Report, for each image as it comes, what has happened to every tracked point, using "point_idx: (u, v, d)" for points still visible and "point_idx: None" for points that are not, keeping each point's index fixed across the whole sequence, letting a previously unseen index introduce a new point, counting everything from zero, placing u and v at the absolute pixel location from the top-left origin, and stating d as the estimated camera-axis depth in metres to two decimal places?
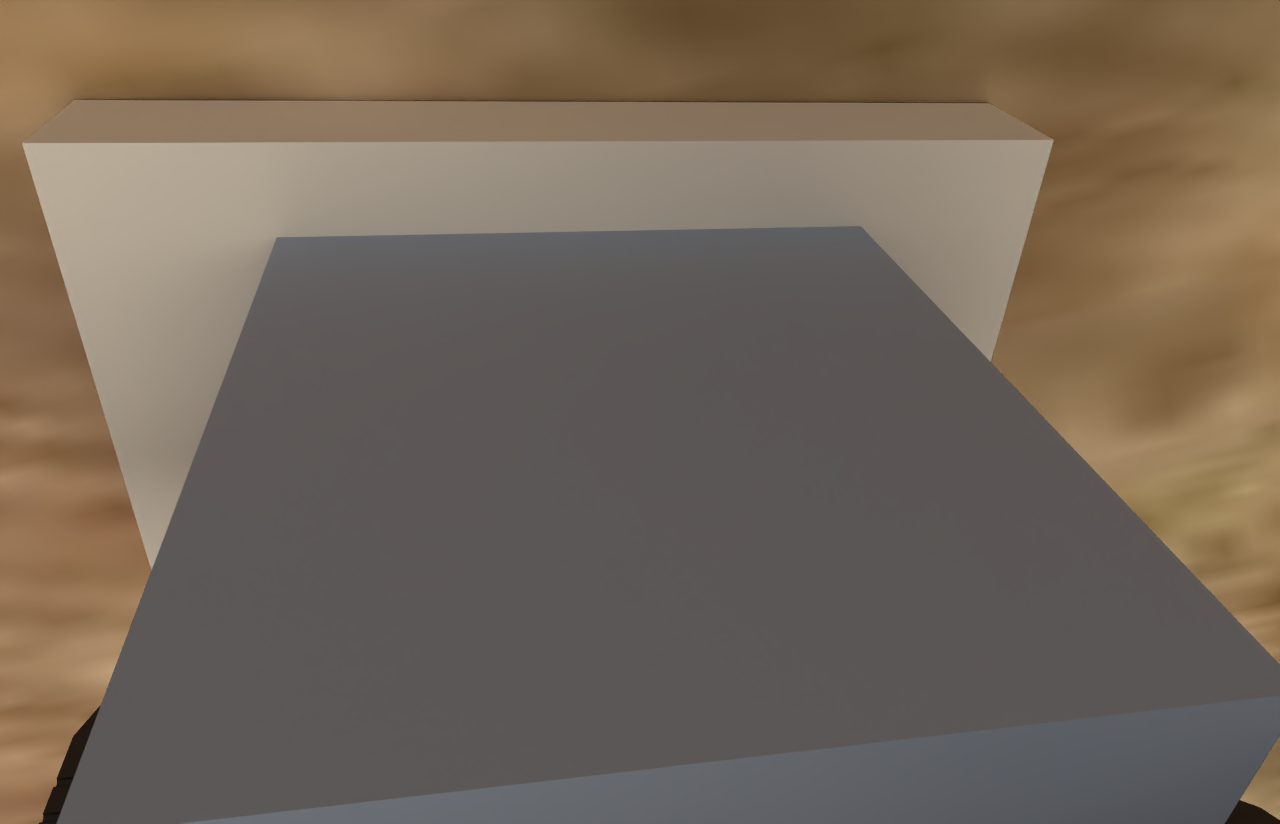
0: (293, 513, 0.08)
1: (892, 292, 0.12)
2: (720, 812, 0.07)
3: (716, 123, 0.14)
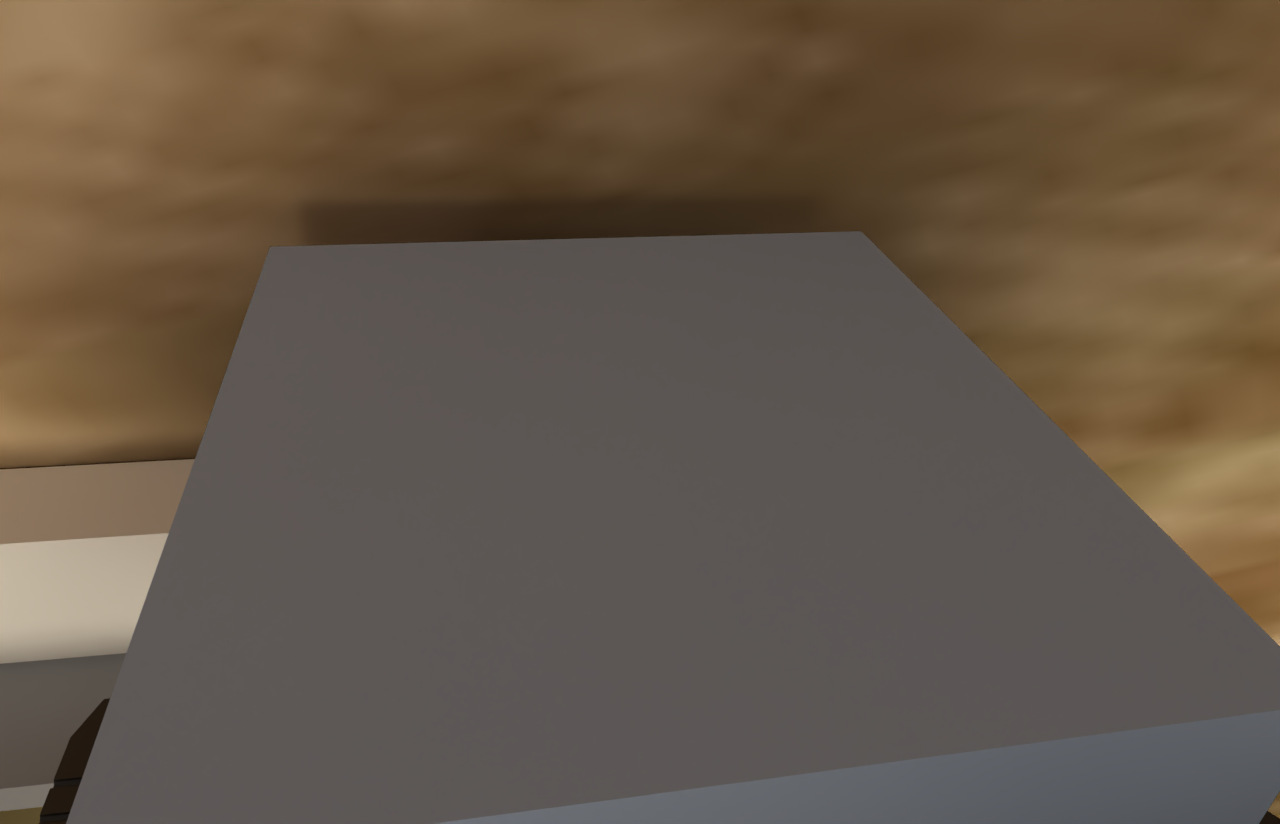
0: (294, 529, 0.08)
1: (896, 297, 0.12)
2: None
3: (87, 505, 0.15)
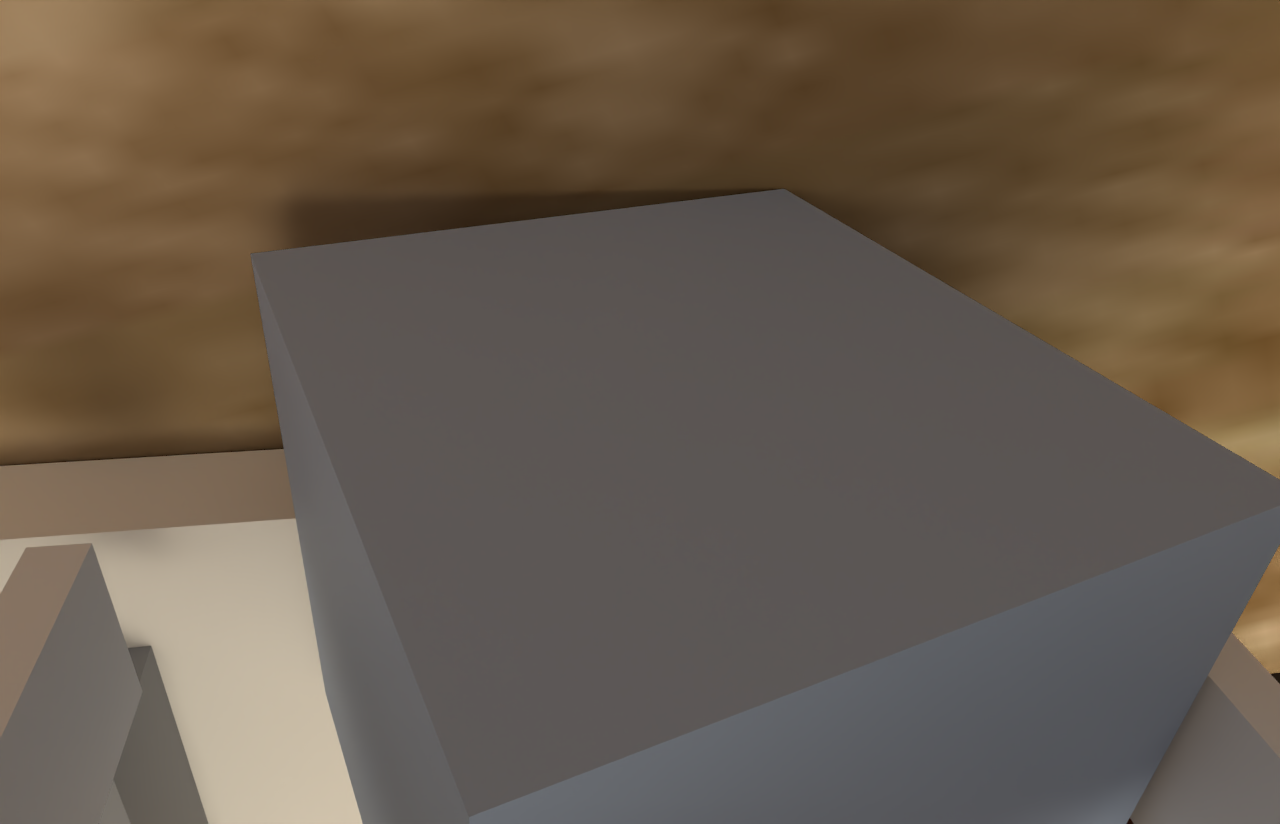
0: (471, 504, 0.08)
1: (847, 242, 0.14)
2: (952, 675, 0.08)
3: (65, 502, 0.15)
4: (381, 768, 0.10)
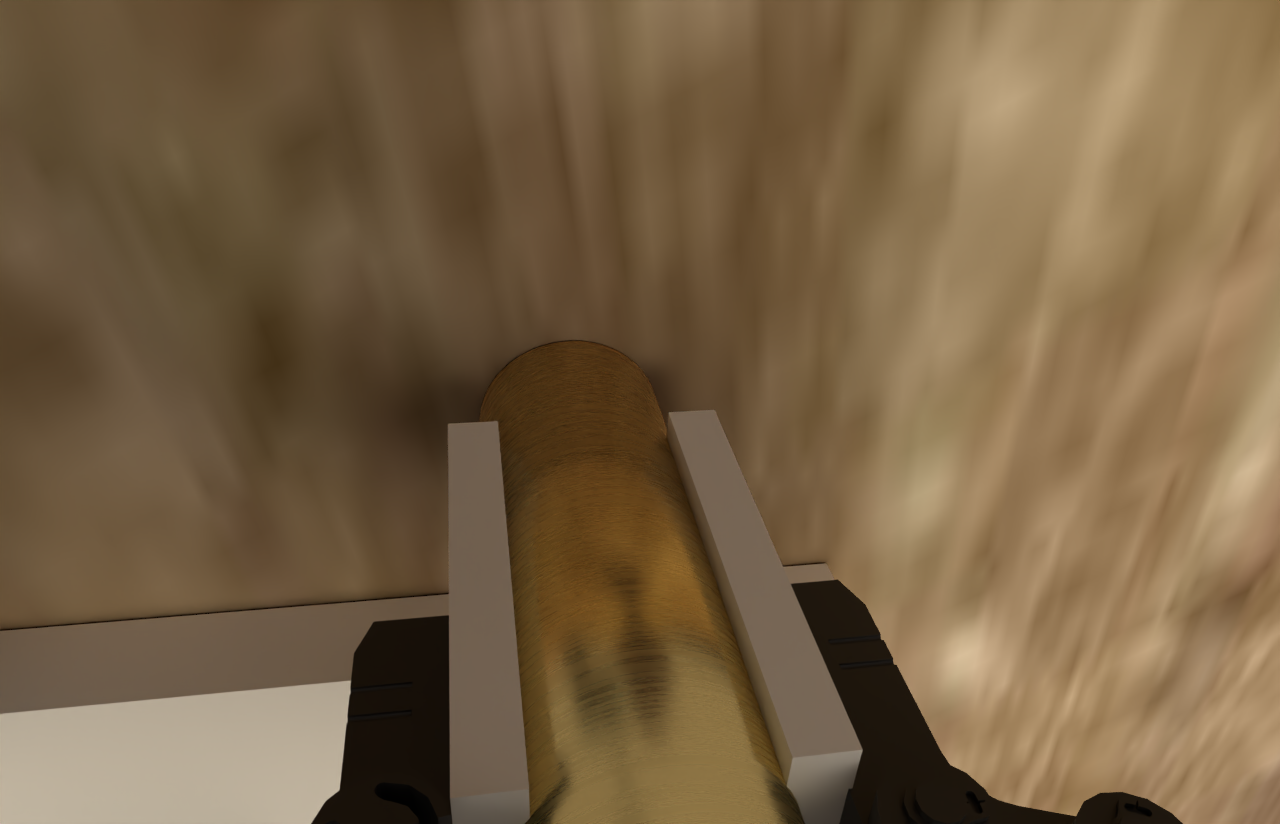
0: None
1: None
2: None
3: None
4: None
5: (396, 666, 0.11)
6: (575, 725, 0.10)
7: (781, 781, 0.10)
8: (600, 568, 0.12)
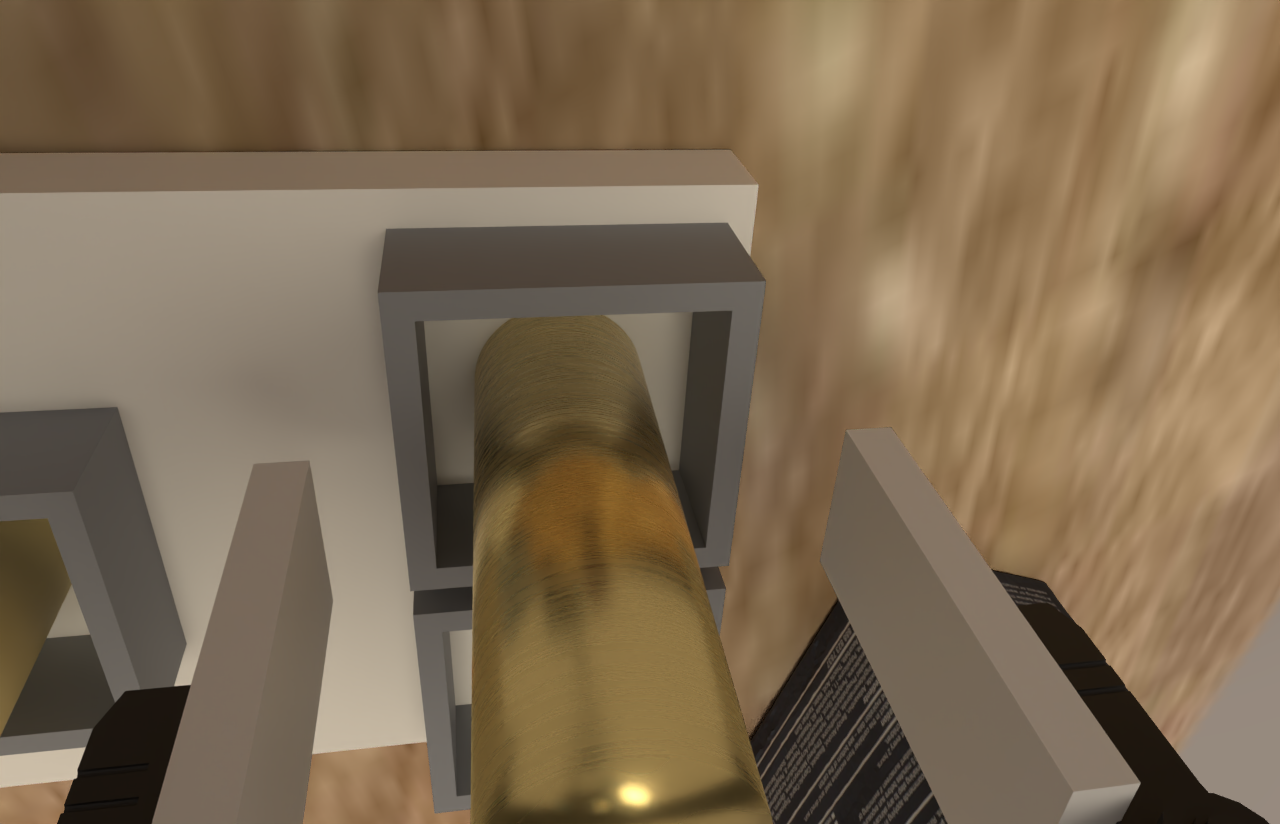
0: None
1: None
2: None
3: None
4: None
5: (137, 744, 0.10)
6: (532, 621, 0.11)
7: (718, 672, 0.11)
8: (566, 492, 0.13)
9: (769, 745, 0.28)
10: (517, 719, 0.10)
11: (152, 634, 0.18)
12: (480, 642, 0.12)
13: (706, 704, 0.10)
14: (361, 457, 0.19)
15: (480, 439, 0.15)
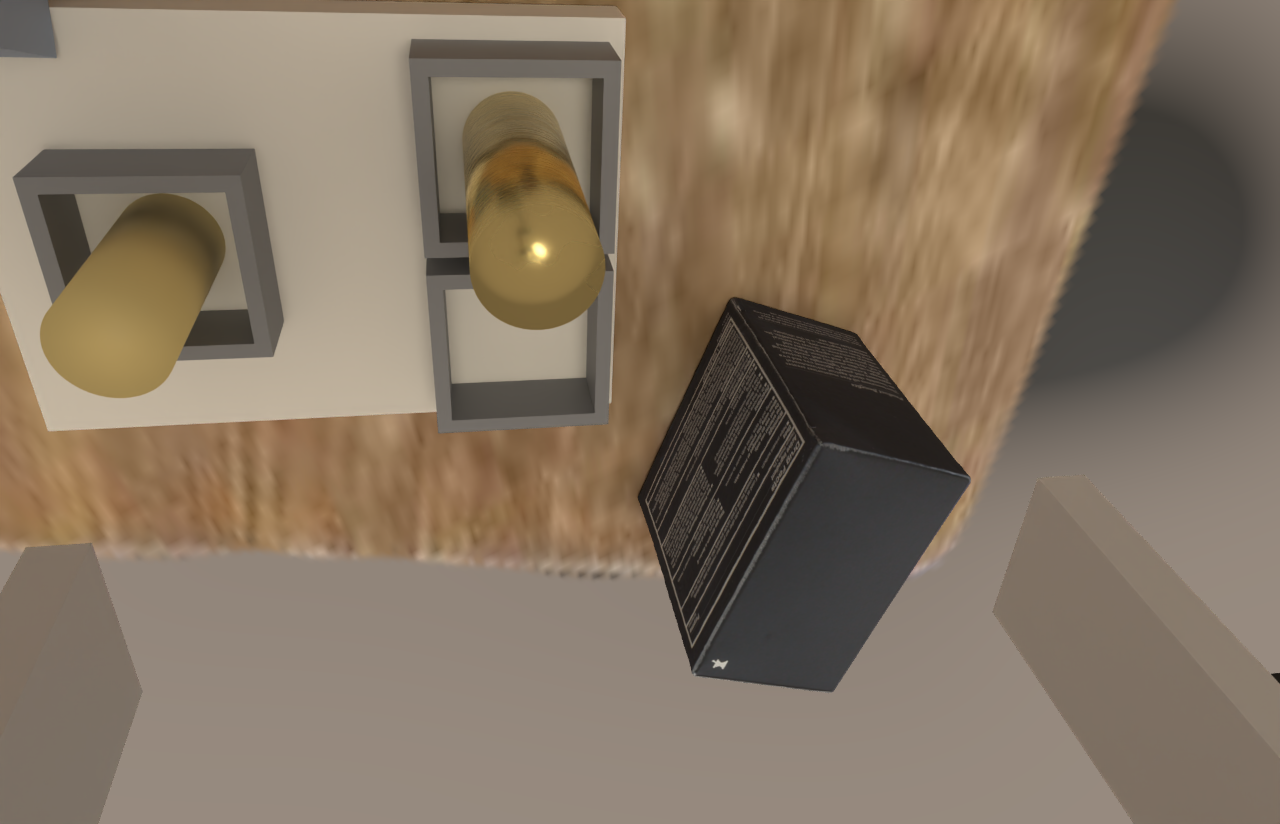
0: None
1: None
2: None
3: None
4: None
5: None
6: (496, 183, 0.23)
7: (583, 204, 0.23)
8: (513, 148, 0.25)
9: (668, 449, 0.40)
10: (489, 208, 0.22)
11: (270, 294, 0.31)
12: (471, 205, 0.24)
13: (574, 204, 0.23)
14: (394, 190, 0.31)
15: (467, 150, 0.28)
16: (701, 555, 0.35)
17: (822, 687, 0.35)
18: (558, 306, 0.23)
